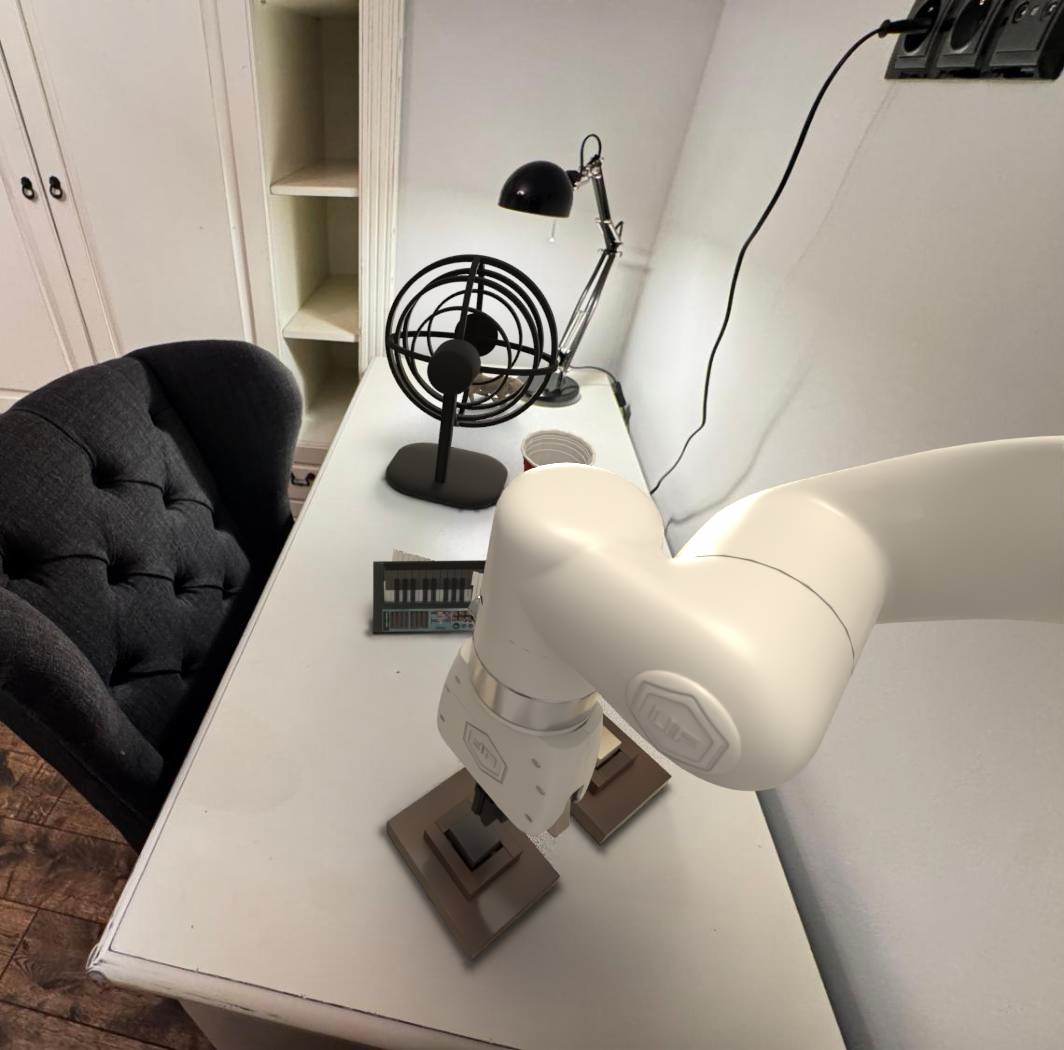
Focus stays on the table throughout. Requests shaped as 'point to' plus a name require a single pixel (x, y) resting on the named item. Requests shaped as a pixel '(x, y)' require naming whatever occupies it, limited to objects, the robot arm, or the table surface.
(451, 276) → the desk fan
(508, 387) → the dog figurine
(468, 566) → the synthesizer keyboard
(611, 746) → the key ivory
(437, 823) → the key block
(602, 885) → the table surface
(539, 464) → the plastic cup
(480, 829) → the key ebony
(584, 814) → the key block
